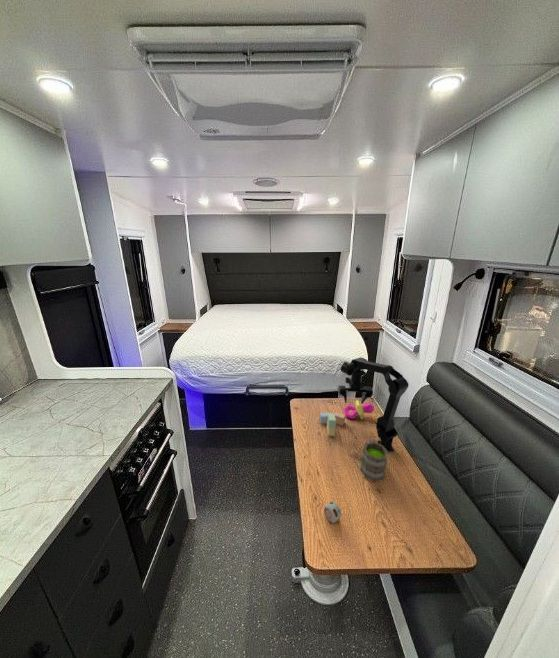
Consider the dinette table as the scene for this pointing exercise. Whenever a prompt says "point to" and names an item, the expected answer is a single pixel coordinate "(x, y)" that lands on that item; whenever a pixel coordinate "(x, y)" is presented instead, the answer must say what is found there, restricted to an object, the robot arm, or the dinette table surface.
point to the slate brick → (323, 418)
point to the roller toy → (332, 512)
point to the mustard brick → (330, 431)
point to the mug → (374, 461)
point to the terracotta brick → (340, 418)
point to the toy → (358, 410)
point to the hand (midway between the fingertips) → (353, 403)
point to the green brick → (331, 420)
